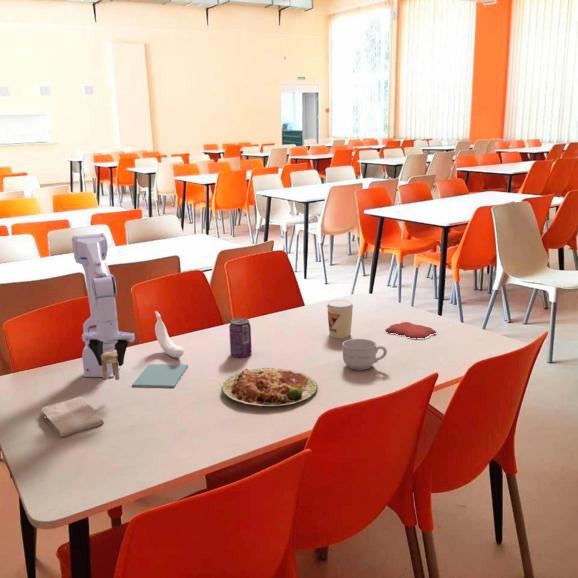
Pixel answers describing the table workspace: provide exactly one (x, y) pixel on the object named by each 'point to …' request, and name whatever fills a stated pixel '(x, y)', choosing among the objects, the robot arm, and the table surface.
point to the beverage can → (240, 337)
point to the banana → (166, 339)
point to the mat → (160, 375)
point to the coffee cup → (340, 318)
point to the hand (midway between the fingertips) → (111, 364)
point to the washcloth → (71, 416)
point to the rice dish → (269, 386)
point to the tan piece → (107, 359)
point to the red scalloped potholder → (410, 330)
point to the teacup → (361, 353)
